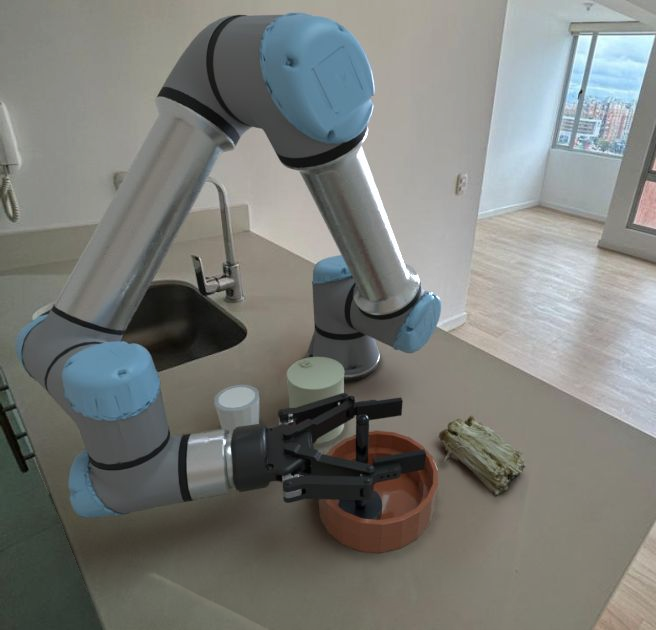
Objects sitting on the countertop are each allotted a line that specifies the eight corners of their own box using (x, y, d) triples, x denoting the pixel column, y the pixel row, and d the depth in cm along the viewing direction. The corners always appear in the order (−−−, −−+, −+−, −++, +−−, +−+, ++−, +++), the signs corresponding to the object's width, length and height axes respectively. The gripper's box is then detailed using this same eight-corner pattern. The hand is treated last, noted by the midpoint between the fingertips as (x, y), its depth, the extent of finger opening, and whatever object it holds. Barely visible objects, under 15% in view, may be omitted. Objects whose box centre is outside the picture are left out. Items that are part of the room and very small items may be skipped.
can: (321, 403, 83) (319, 347, 77) (355, 426, 78) (356, 369, 72) (278, 427, 76) (273, 368, 71) (313, 454, 71) (310, 394, 66)
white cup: (271, 428, 76) (268, 395, 73) (236, 451, 71) (231, 416, 68) (245, 411, 79) (241, 378, 76) (210, 432, 74) (204, 398, 71)
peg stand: (362, 487, 66) (365, 393, 58) (390, 513, 62) (398, 417, 54) (329, 511, 62) (327, 414, 54) (357, 540, 58) (359, 440, 50)
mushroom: (429, 452, 74) (432, 426, 72) (468, 428, 80) (472, 404, 77) (496, 509, 65) (502, 483, 62) (535, 478, 71) (542, 452, 68)
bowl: (353, 447, 74) (353, 419, 71) (448, 479, 69) (452, 450, 66) (295, 528, 60) (293, 496, 57) (409, 575, 55) (412, 543, 52)
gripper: (239, 422, 64) (389, 401, 71) (232, 567, 45) (437, 520, 52) (233, 379, 61) (392, 362, 68) (223, 517, 42) (444, 473, 49)
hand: (412, 431), depth 60 cm, fingers open, 10 cm apart
